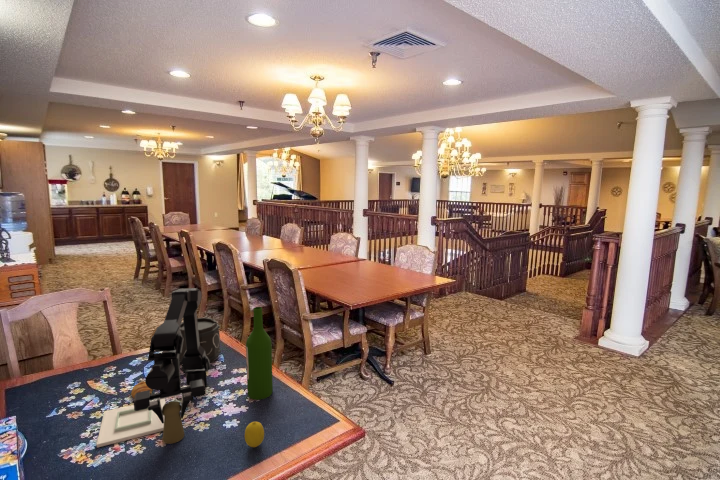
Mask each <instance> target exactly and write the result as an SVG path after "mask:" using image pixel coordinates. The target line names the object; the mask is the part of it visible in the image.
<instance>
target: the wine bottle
mask: <svg viewBox="0 0 720 480" xmlns="http://www.w3.org/2000/svg"><path fill="white" fill-rule="evenodd" d="M252 311H253V329H252V331H251V333H250V334H249V336H248V337H247V338H246V341H245V342H246V343H245V356H246V357H245V358H246V360H245V361H246V386H247V388H246V389H247V396H248V398H249V399H251V400H255V401H260V400H261V399H262V400H265V399H268V398H269V397H270V396H272V394H273V392H274V391H273V389H274V388H273V387H274V386H273V353H272V350H273V349H272V348H273V347H272V343H273V342H272V339H271V337H270V336H269V334H268V333H267V332H266V330H265V328H264V326H263V325H264V324H263V322H264V320H263V307H261V306H255V307H253V310H252ZM267 397H268V398H267Z"/></svg>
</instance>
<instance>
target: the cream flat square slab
mask: <svg viewBox="0 0 720 480" xmlns="http://www.w3.org/2000/svg"><path fill="white" fill-rule="evenodd" d="M160 404H161V408H163V406H164V405H165V404H166V398H165V399H160ZM163 417H164V415H163ZM163 429H164V423H163V424H162V422H161V421H160V419H159V418H158V416H157V415H156V414H155V413H154V412H153V411H152V410H148V408H147V409H143V410H139V411H134V404H131V405H126V406H124V407H123V406H122V407H118V408H113V409H110V410H105V411H104V412H103V416H102V420H101V423H100V429H99V433H98V437H97V440H96V448H100V447H104V446H108V445H113V444H117V443H121V442H124V441H129V440H132V439H136V438H140V437H143V436H147V435H148V436H149V435H151V434H155V433H159V432H163Z"/></svg>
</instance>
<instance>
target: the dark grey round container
mask: <svg viewBox="0 0 720 480" xmlns="http://www.w3.org/2000/svg"><path fill="white" fill-rule="evenodd" d="M197 322H198V332H199V342H200V345H201V346H202V347H203V348H204V349H205V354H206V356H207V357H208V359H209V361H210V362H211V363H213V362H214V361H216V360H217V358H218V357H219V355H220V353H221V352H222V350H221V336H220V327H221V326H220V325H219V324H218V322H217V320H216V319H214V318H210V317H197ZM180 331H181V334H182V337H183V338H184V340H183V346H182V352H181V354H180V355H179V363H180V364H181V363H182V358H183V356H184V353H185V351H186V341H185V332H184V323H183V321H182V322H181V325H180ZM210 362H209V363H210ZM211 363H210V364H211Z"/></svg>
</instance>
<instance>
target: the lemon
mask: <svg viewBox="0 0 720 480" xmlns="http://www.w3.org/2000/svg"><path fill="white" fill-rule="evenodd" d="M264 439H265V429H264V426H263V425H262V423H261V422H259V421H252V422H250V423H248V425H247V426H246V427H245V430H244V440H245V443H246V444H247V446H248V447H250V448H256V447H259V446H260V445H261V444H262V443H263V441H264Z"/></svg>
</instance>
